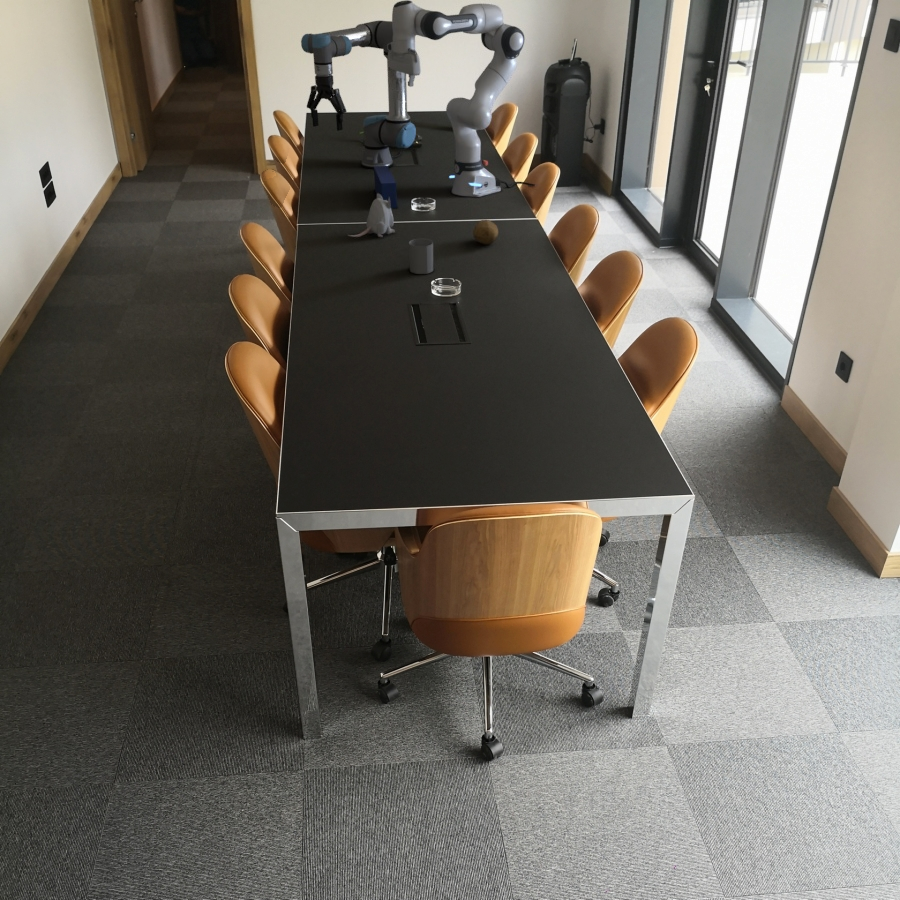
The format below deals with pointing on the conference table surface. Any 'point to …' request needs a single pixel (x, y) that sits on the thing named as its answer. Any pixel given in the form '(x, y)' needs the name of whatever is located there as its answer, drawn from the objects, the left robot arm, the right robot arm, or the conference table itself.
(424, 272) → the cup
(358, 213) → the conference table surface
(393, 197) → the box
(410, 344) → the conference table surface
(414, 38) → the right robot arm
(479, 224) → the potato
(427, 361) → the conference table surface
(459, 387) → the conference table surface
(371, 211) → the toy
